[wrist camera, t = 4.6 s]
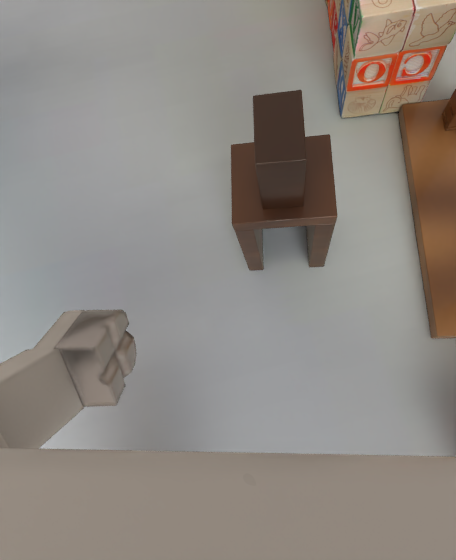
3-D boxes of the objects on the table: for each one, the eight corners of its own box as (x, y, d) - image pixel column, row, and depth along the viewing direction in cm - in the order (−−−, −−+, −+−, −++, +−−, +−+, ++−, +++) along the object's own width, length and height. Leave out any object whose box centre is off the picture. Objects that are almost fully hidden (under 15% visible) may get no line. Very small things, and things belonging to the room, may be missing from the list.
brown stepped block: (249, 270, 30) (216, 182, 17) (247, 211, 31) (216, 87, 18) (323, 266, 29) (349, 170, 16) (319, 205, 30) (339, 71, 17)
